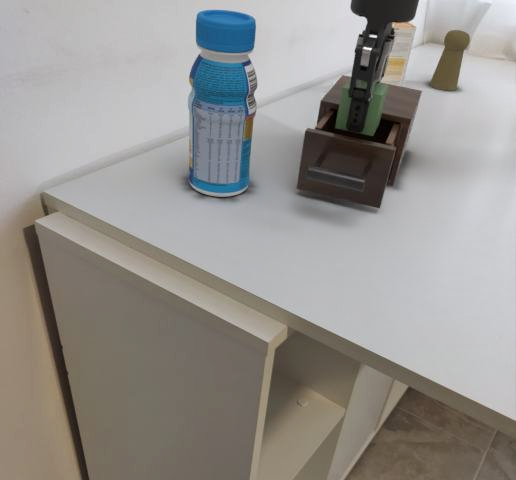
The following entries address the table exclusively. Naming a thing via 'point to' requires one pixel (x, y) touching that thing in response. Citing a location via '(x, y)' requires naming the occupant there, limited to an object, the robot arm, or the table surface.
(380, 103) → the block
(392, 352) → the table surface
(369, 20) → the robot arm
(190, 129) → the beverage bottle
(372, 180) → the drawer
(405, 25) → the supplement box
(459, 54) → the olive pawn
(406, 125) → the cabinet
